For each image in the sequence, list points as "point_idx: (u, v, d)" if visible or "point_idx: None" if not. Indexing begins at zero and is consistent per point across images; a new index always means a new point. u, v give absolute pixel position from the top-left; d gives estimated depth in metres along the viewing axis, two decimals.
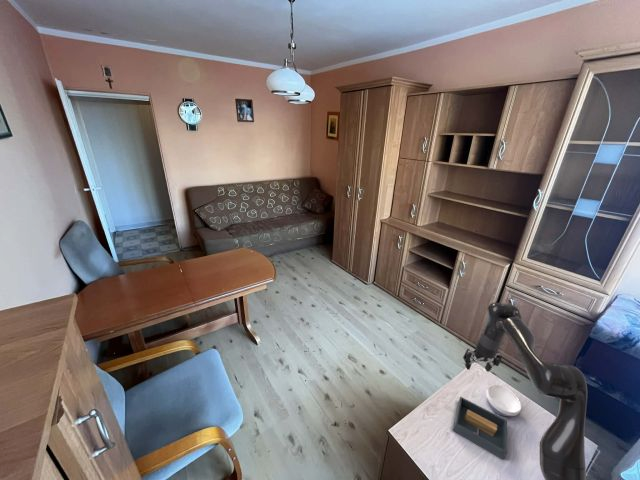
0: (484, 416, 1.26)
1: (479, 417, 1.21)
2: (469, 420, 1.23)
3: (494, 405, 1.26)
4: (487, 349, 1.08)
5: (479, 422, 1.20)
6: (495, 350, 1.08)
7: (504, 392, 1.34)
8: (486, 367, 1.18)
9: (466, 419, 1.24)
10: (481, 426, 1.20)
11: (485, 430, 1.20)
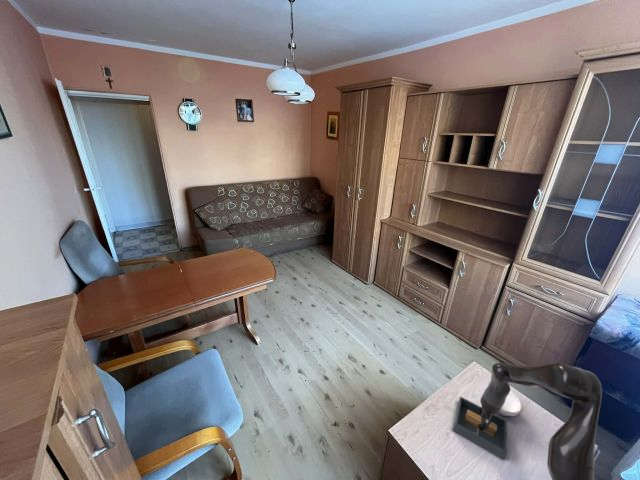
0: (484, 416, 1.26)
1: (479, 417, 1.21)
2: (469, 420, 1.23)
3: None
4: (500, 407, 1.11)
5: (479, 422, 1.20)
6: None
7: None
8: (481, 411, 1.24)
9: (466, 419, 1.24)
10: None
11: (485, 430, 1.20)
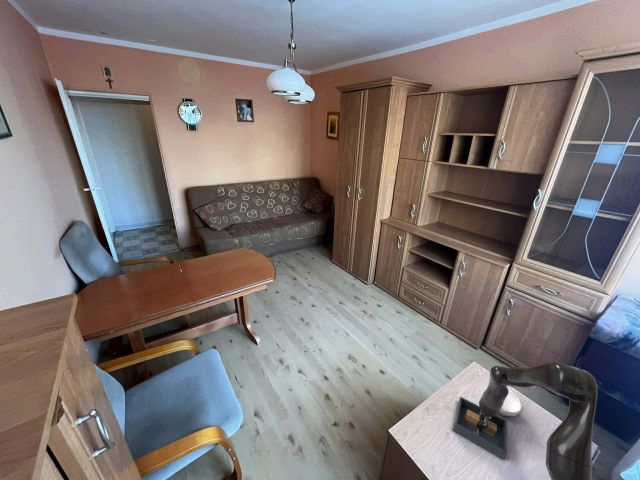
0: None
1: None
2: (469, 420, 1.23)
3: None
4: (499, 410, 1.12)
5: None
6: None
7: None
8: None
9: (466, 419, 1.24)
10: None
11: (485, 430, 1.20)
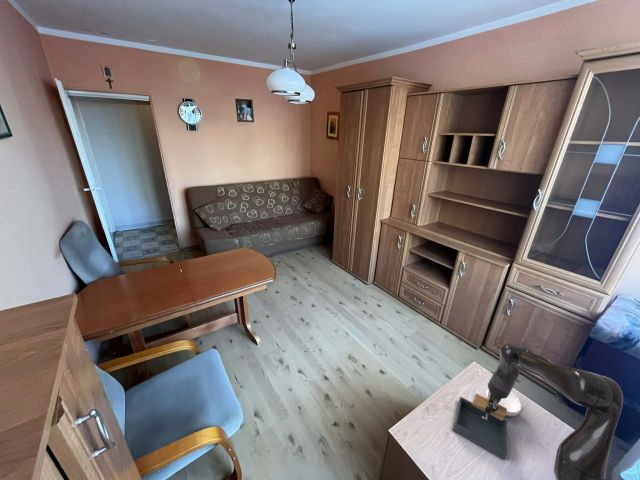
0: (484, 416, 1.26)
1: None
2: (477, 405, 1.17)
3: None
4: (509, 392, 1.07)
5: None
6: None
7: None
8: None
9: (474, 403, 1.18)
10: None
11: (494, 414, 1.15)
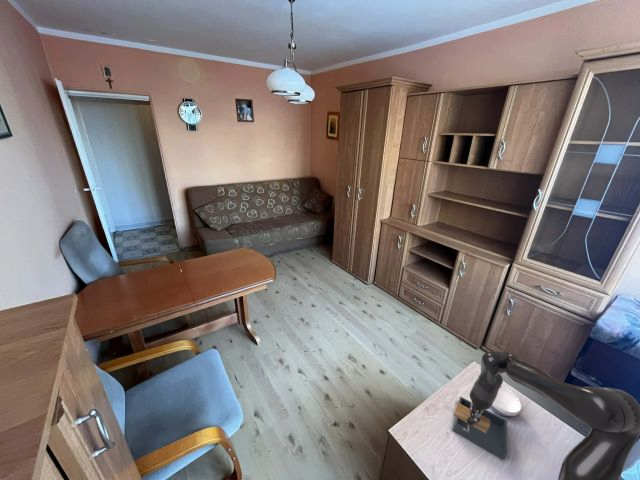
0: (484, 416, 1.26)
1: None
2: (459, 415, 1.08)
3: (494, 405, 1.26)
4: (492, 402, 0.97)
5: None
6: None
7: (504, 392, 1.34)
8: None
9: (455, 413, 1.09)
10: None
11: (477, 426, 1.05)
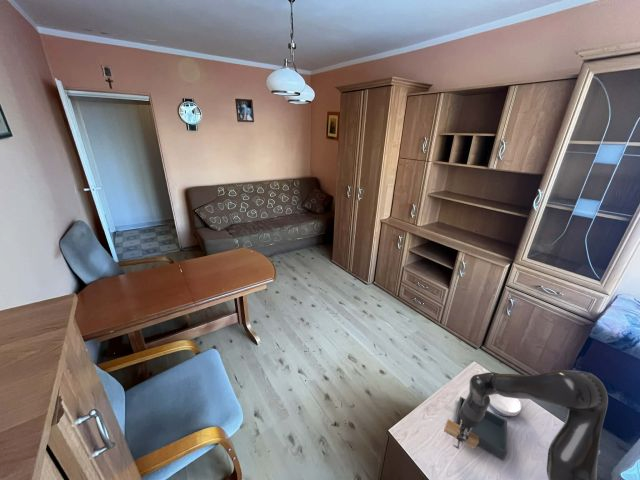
0: (484, 416, 1.26)
1: None
2: (449, 431, 1.12)
3: (494, 405, 1.26)
4: (480, 421, 1.01)
5: None
6: None
7: None
8: None
9: (446, 430, 1.13)
10: None
11: (466, 442, 1.09)
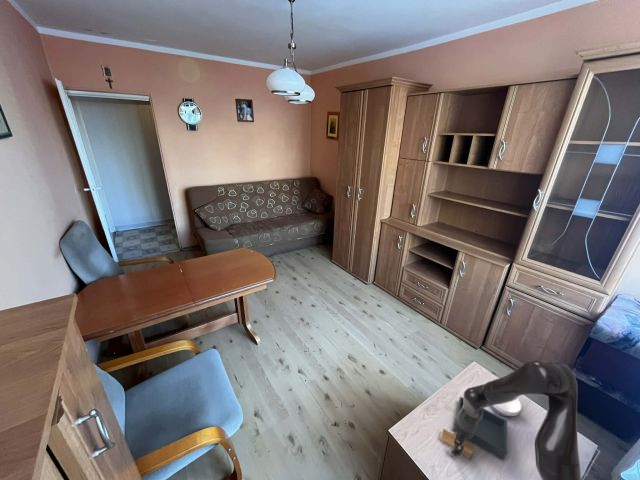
0: (484, 416, 1.26)
1: None
2: (445, 441, 1.15)
3: (494, 405, 1.26)
4: (474, 432, 1.04)
5: None
6: None
7: None
8: None
9: (441, 439, 1.16)
10: None
11: None
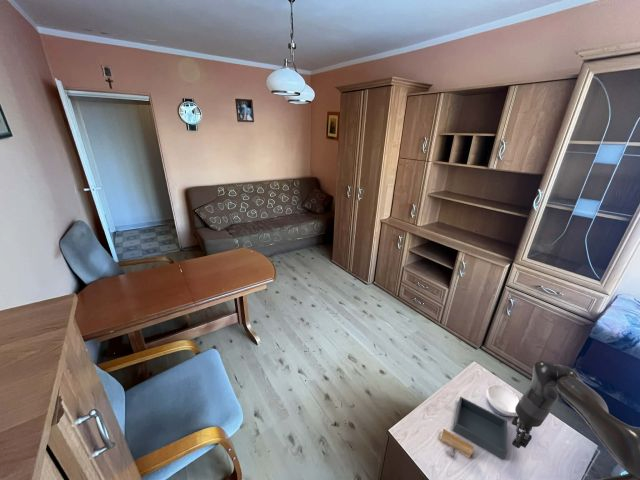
0: (484, 416, 1.26)
1: (455, 437, 1.14)
2: (445, 441, 1.15)
3: (494, 405, 1.26)
4: (544, 419, 0.86)
5: (454, 442, 1.12)
6: None
7: (504, 392, 1.34)
8: (515, 423, 0.99)
9: (441, 439, 1.16)
10: (457, 447, 1.13)
11: (461, 451, 1.12)
